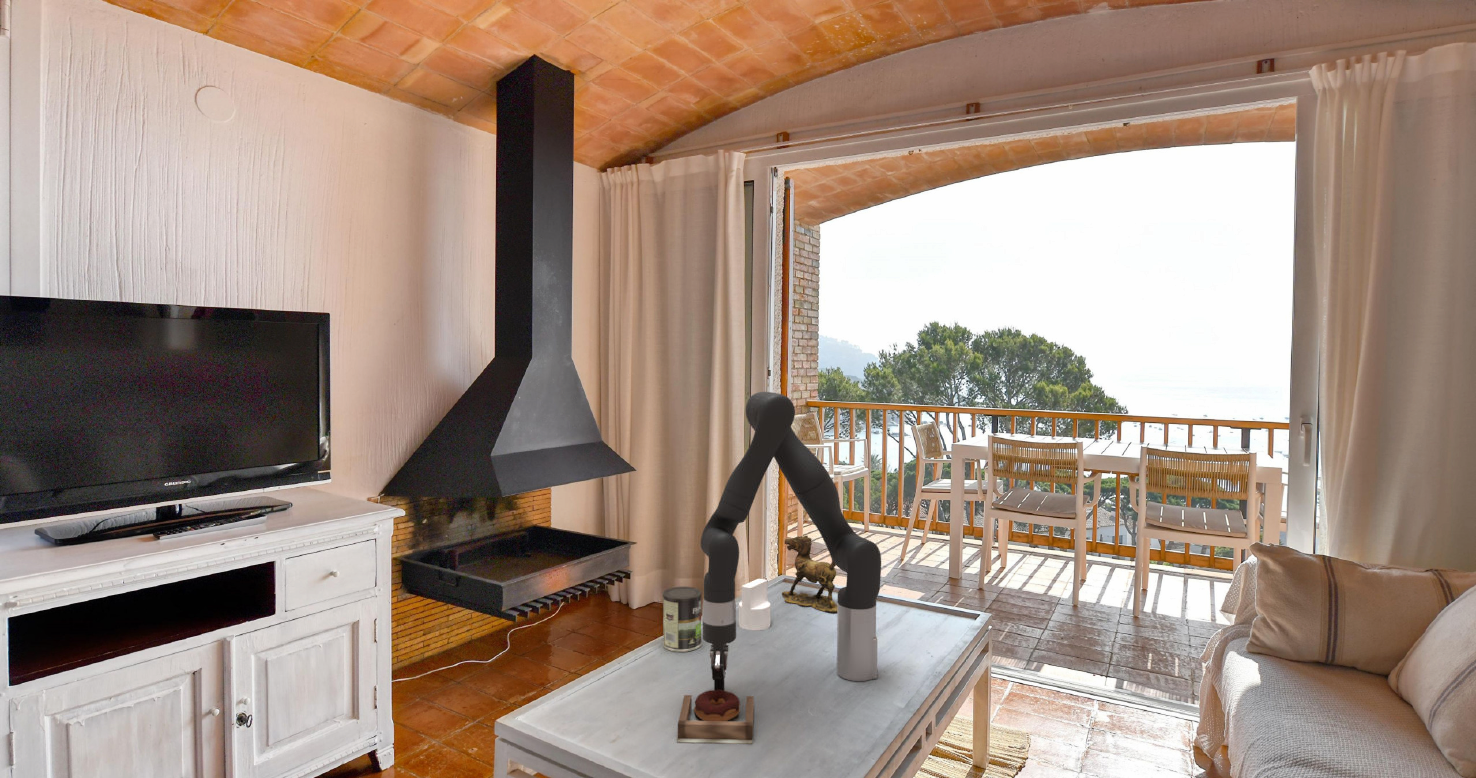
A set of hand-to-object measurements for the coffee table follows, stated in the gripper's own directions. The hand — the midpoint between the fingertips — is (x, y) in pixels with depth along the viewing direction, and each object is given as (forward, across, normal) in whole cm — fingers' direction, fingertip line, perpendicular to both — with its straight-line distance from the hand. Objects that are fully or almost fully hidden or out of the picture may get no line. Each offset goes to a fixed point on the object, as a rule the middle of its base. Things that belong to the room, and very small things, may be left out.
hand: (719, 693), depth 163 cm
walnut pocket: (+1, -11, 0) cm, 11 cm away
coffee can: (+2, +30, +12) cm, 33 cm away
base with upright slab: (+2, +45, -7) cm, 46 cm away
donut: (+2, -7, 0) cm, 7 cm away
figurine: (+2, +64, -25) cm, 69 cm away
